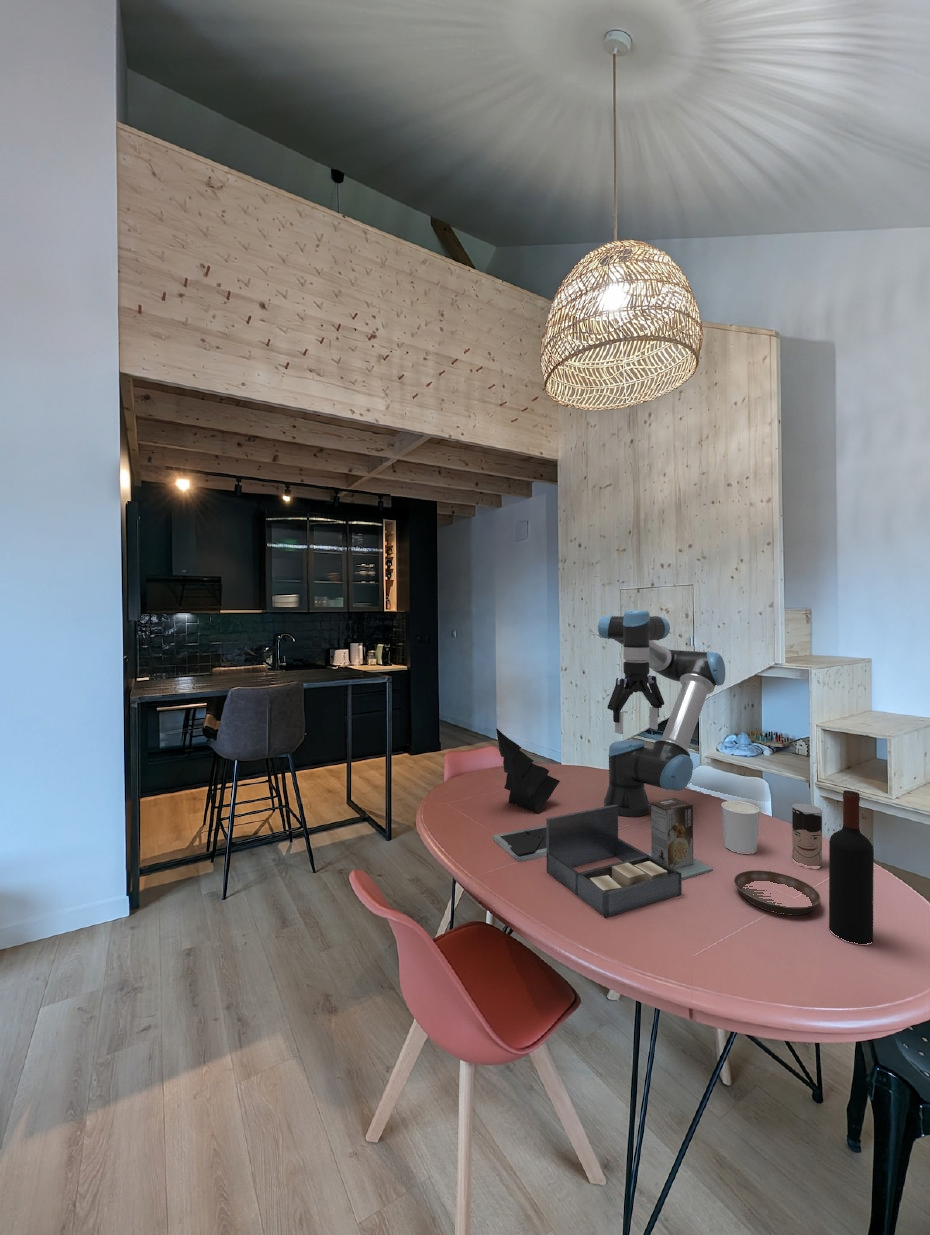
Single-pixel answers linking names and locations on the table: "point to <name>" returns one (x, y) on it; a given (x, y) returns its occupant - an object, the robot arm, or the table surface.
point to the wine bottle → (851, 877)
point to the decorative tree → (524, 777)
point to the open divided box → (597, 840)
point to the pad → (692, 869)
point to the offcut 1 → (605, 883)
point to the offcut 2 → (651, 870)
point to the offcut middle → (627, 875)
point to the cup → (807, 834)
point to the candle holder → (740, 826)
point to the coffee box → (672, 832)
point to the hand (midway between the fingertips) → (636, 731)
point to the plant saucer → (773, 877)
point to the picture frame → (524, 843)
